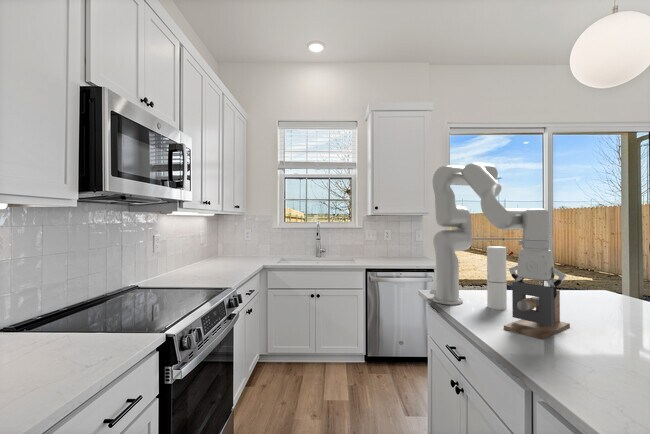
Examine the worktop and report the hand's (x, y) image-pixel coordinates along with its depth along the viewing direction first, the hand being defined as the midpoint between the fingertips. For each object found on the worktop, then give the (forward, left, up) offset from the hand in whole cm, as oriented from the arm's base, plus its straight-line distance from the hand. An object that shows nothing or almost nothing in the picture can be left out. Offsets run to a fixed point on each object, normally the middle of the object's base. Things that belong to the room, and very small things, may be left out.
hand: (536, 296), depth 116 cm
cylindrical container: (-22, +16, -11) cm, 29 cm away
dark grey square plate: (0, -3, -8) cm, 8 cm away
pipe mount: (0, +1, -11) cm, 11 cm away
